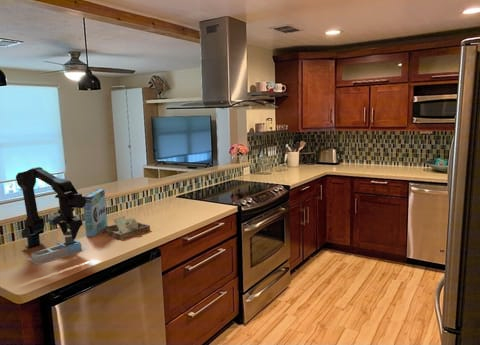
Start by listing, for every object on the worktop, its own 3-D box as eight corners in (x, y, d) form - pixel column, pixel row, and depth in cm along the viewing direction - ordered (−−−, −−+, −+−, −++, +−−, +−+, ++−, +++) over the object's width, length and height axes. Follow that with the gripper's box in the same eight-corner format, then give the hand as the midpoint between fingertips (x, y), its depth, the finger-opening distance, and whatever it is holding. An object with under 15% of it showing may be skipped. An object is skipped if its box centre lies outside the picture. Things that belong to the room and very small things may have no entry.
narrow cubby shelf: (27, 260, 171) (26, 251, 170) (75, 246, 188) (74, 237, 188) (37, 267, 163) (36, 257, 163) (86, 251, 181) (85, 242, 180)
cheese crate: (102, 233, 208) (102, 228, 207) (131, 224, 222) (130, 220, 222) (121, 239, 196) (120, 234, 195) (150, 230, 210) (149, 225, 209)
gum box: (100, 226, 222) (96, 189, 218) (108, 225, 222) (104, 189, 218) (85, 236, 203) (81, 196, 199) (94, 236, 203) (90, 196, 199)
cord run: (56, 245, 190) (55, 243, 190) (58, 244, 191) (58, 242, 191) (64, 249, 184) (64, 247, 184) (66, 248, 185) (66, 246, 185)
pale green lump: (140, 238, 203) (143, 216, 213) (132, 232, 198) (135, 209, 208) (117, 245, 206) (121, 223, 216) (109, 239, 201) (113, 217, 211)
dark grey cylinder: (64, 250, 180) (62, 232, 179) (73, 247, 184) (71, 230, 182) (68, 252, 178) (66, 234, 176) (77, 249, 181) (75, 232, 179)
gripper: (40, 207, 177) (44, 238, 179) (57, 213, 165) (61, 246, 167) (63, 202, 185) (67, 232, 188) (81, 208, 173) (84, 239, 176)
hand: (69, 237), depth 179 cm, fingers open, 9 cm apart
